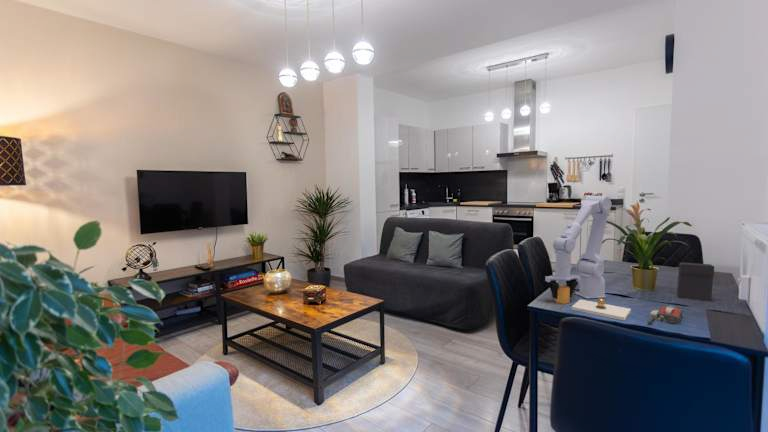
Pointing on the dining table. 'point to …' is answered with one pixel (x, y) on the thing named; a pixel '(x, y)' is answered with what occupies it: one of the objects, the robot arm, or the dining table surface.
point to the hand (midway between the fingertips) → (561, 297)
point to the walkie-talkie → (666, 314)
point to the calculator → (695, 281)
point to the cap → (563, 294)
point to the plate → (601, 309)
